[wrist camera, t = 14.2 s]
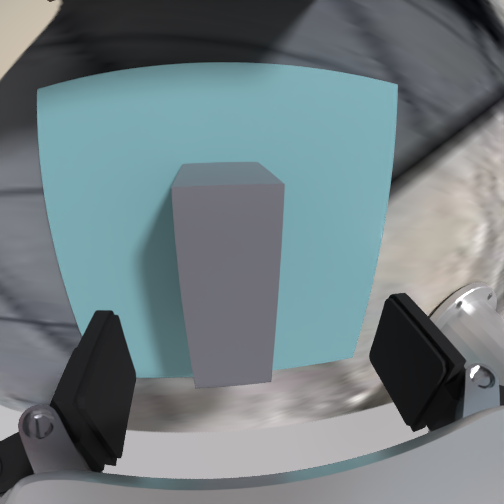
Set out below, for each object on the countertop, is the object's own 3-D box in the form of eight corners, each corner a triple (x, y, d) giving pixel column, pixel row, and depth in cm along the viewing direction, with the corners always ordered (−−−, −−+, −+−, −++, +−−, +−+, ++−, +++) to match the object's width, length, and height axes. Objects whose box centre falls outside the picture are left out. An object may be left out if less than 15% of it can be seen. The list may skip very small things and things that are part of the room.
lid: (376, 86, 15) (462, 83, 8) (341, 338, 23) (380, 406, 16) (56, 91, 12) (-24, 86, 6) (105, 354, 20) (85, 432, 13)
